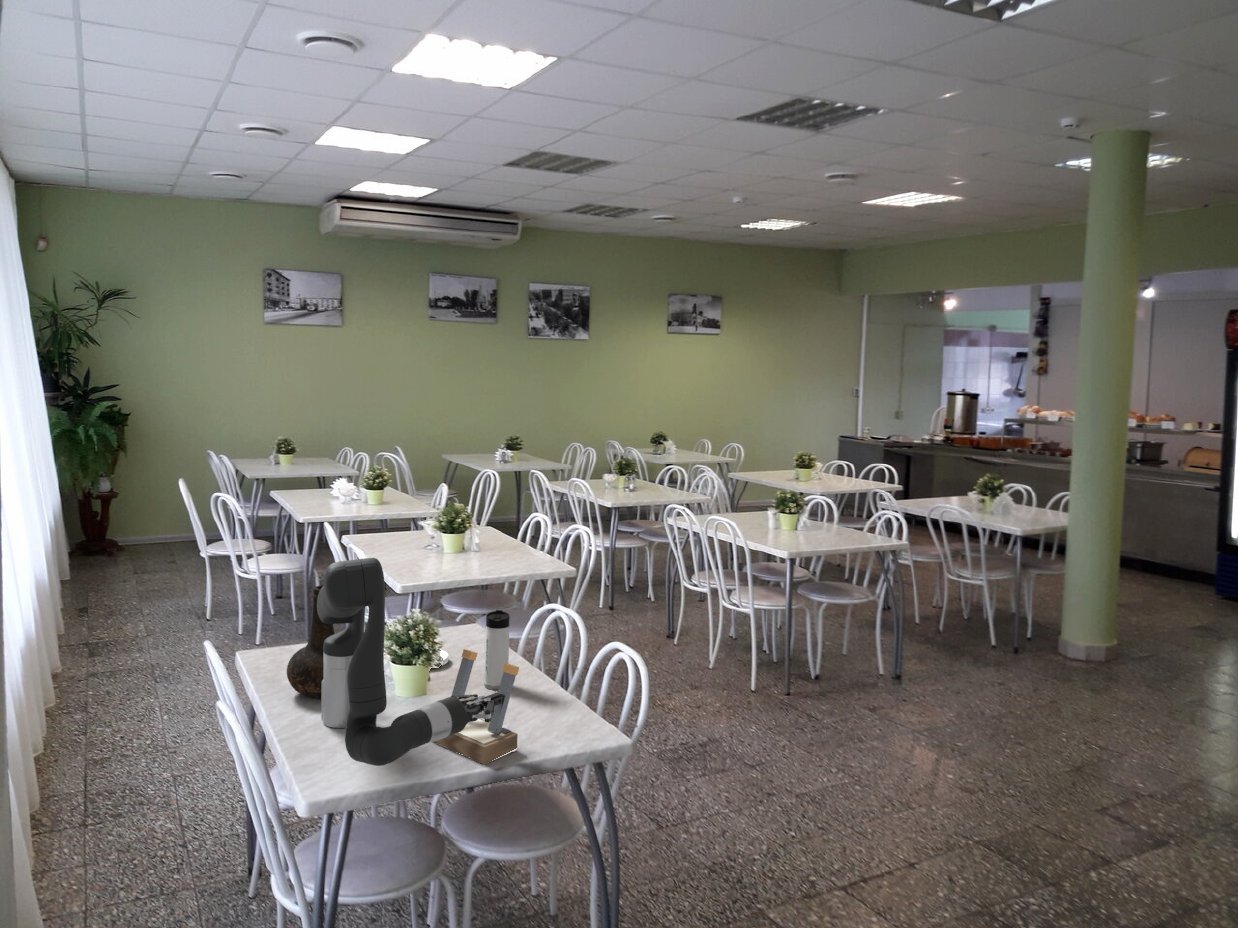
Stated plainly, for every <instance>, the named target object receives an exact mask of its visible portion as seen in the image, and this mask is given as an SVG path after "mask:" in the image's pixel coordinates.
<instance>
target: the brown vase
mask: <svg viewBox="0 0 1238 928" xmlns="http://www.w3.org/2000/svg"><path fill="white" fill-rule="evenodd" d="M323 586H324V584H322V585H321V584H320V585H317V586H313V588H312V590H313V592H311V593H310V594H309V597H310V598H312V611H311V612H312V614H311V616H312V617H311V623H310V624H311V625H310V631H309V637H308V641H307V643H306V645H305V646H304V647H302V648H299V650H297V651H296V652H294V654H293V655H292V656H291V657H290V659H289V661H288V663H287V667H286V677H287V680H288V682H289V684H290V685H291V687H292V688H293V689H294V690H295V692H297V694H300V695H301V696H303V697H306V698H308V699H309V698H310V699H316V700H321V697H322V680H323V645H324V641H325V639H326V638H328V637H329V636H331V635H334V634H336V633H335V629H334V624H326V623H323V622H322V621H321V620H320V618H319V615H318V612H317V598H318V594H319V591H320V590H321V588H322V587H323Z"/></svg>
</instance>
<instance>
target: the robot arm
mask: <svg viewBox="0 0 1238 928" xmlns="http://www.w3.org/2000/svg"><path fill="white" fill-rule="evenodd" d="M385 583H386V582H385V574H384V571H383V567H382V564H381V562H380V560H379V559H378V558H376V557H366V558H360V559H359V558H356V559H355V558H354V559H349V560H348V559H347V560H341V561H336V562H332V563H331V564H329V565H328V566H327V568H326V570H325V573H324V577H323V585H324V586H323V587H322V588H321V590H320V591H319V594H318V598H317V612H318V615H319V618H320V620H321V621H322V622H323V623H326V624H333V625H337V624H338V625H341V624H342V625H343V624H349V625H348V626H347V627H345V628H344V629H342V630H341V631H339V632H336V633H335V634H334V635H331V636H329V637H328V638H326V639H325V641H324V645H323V680H322V697H321V699H320V700H321V703H320V704H321V705H320V708H321V713H320V714H321V717H320V719H321V720H322V723H323V725H324V726H326V727H330V728H336V729H338V728H339V729H340V728H341V729H342V728H345V735H344V737H345V738H344V743H345V744H344V745H345V748H346V749H345V750H346V751H347V754H348V756H349V757H350V758H351V759H352V760H353V761H355V762H359V763H363V764H367V765H369V766H370V765H371V766H376V767H378V766H379V767H381V766H385V765H389V764H391V763H393V762H395V761H397V760H399V759H400V758H401V757H403V756H404V755H406V754H407V753H408V752H409V751H411V750H413V749H416V748H418V747H421V746H424V745H426V744H430V743H434V742H435V741H438V740H440V739H443V738H445V737H448V736H450V735H453V734H456V733H458V732H461V731H462V730H463V729H464V728H465V726H466V725H467V723H468V722H472V721H476V720H478V718H480V719H483V720H485V722H490V721H491V719H492V716H493V714H494V706H496V705H499V704H501V703H502V694H500V693H498V692H494V693H491V694H489V695H486V696H485V695H480V696H479V694H475V693H474V694H465V695H455V696H452V695H451V696H449V697H445V698H443V699H440V700H437V701H434V702H432V703H428V704H425V705H424V706H422V707H419V708H417V709H415V710H413V711H410V712H407V713H403V714H402V715H398V716H397V717H396V718H394V719H393V720H392V722H391V723H390V725H389V726H385V727H380V726H377V718H378V717H377V716H378V715H380V714H382V713H383V712H384V711H385V710H386V708H387V699H388V698H387V690H386V677H385V664H384V663H385V662H384V661H385V658H384V656H385V650H384V649H385V633H386V632H385V631H386V630H385V628H386V627H385V626H386V621H385V620H386V584H385ZM366 607H367V608H368V617H367V622H366V626H365V618H366V617H365V616H366Z"/></svg>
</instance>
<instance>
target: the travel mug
mask: <svg viewBox="0 0 1238 928" xmlns="http://www.w3.org/2000/svg"><path fill="white" fill-rule="evenodd" d="M485 617H486V618H485V622H486V623H485V639H484V640H485V641H484V642H485V645H484V646H485V647H484V648H485V649H484V650H485V651H484V685H483V686H484V688H486V689H487V690H492V691H493V690H494V691H497V690H498V691H499V687H500V683H501V680H502V676H503V668H504V664H505V663H506V664H509V660H510V659H509V658H510V657H509V656H510V614H509V612H506V611H503V609H496V610H495V611H490V612H488V613H487V614H486V616H485Z"/></svg>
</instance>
